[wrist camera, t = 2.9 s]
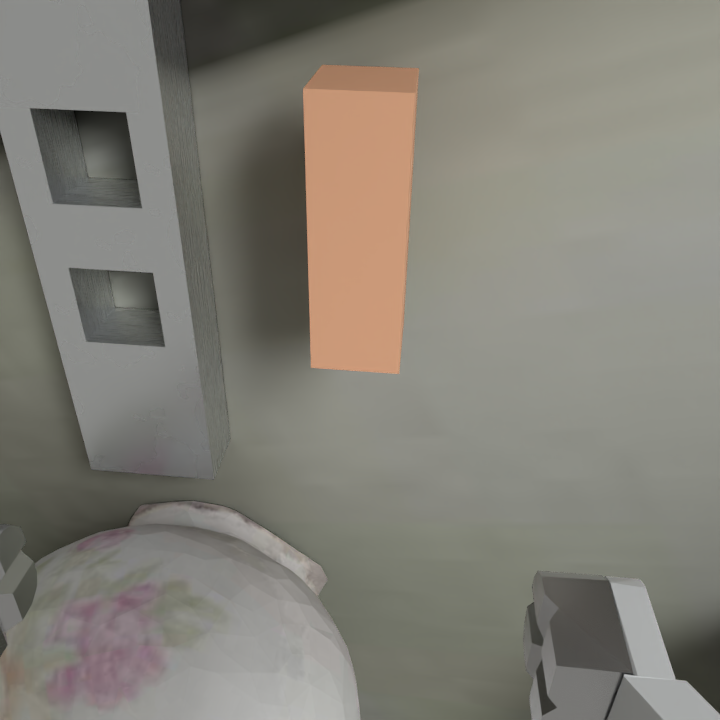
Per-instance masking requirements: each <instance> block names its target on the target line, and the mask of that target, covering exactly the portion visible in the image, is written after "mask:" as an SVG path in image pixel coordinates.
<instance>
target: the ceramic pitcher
mask: <svg viewBox="0 0 720 720" xmlns="http://www.w3.org/2000/svg"><path fill="white" fill-rule="evenodd" d="M35 567H36V571H37V588H36V592H35V595H34V599H33V603H32V605H31V607H30V609H29V610H28V612H27V614H26V615H25V617H24V619H23V620H22V621H21V622H19V623H18V624H16V625H15V626H13V627H12V628H10V629H9V630H7V631H6V637H7V644H8V645H7V647H6V649H5V650H4V652H3V654H2V655H1V657H0V720H360V711H359V700H358V691H357V684H356V678H355V673H354V669H353V665H352V662H351V659H350V655H349V652H348V648H347V646H346V644H345V642H344V640H343V638H342V636H341V634H340V632H339V631H338V629H337V627H336V625H335V623H334V621H333V619H332V618H331V616H330V614H329V613H328V611H327V610H326V608H325V607H324V605H323V604H322V603H321V601H320V600H319V598H318V595H319V593H320V591H321V589H322V588H323V586H324V585H325V583H326V582H327V580H328V579H327V577H326V575H325V573H324V571H323V569H322V567H321V566H320V565H319V564H317V563H316V562H314V561H313V560H311V559H310V558H308V557H307V556H305V555H304V554H302V553H300V552H299V551H297V550H296V549H294V548H293V547H292V546H290V545H289V544H287V543H286V542H284V541H283V540H281V539H280V538H278V537H277V536H275V535H274V534H272V533H271V532H269V531H268V530H266V529H265V528H263V527H261V526H260V525H258V524H257V523H255V522H253V521H252V520H250V519H249V518H247V517H245V516H244V515H242V514H240V513H239V512H237V511H235V510H233V509H230V508H228V507H225V506H220V505H214V504H209V503H203V502H198V501H181V502H167V503H156V504H146V505H140V506H139V508H138V509H137V511H136V512H135V513H134V515H133V516H132V518H131V520H130V522H129V524H128V526H127V527H122V528H117V529H112V530H107V531H102V532H98V533H95V534H93V535H90V536H87V537H85V538H83V539H80V540H78V541H76V542H74V543H71V544H69V545H67V546H64V547H62V548H60V549H58V550H56V551H54V552H52V553H50V554H48V555H47V556H45V557H43V558H41V559H40V560H39V561H37V562H36V563H35Z"/></svg>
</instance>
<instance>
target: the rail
mask: <svg viewBox="0 0 720 720" xmlns="http://www.w3.org/2000/svg"><path fill="white" fill-rule="evenodd" d="M74 110H85V111H109V112H126V115H127V121H128V127H129V133H130V139H131V145H132V151H133V157H134V163H135V169H136V175H137V180H123V179H103V178H88V175H87V170H86V165H85V160H84V156H83V151H82V146H81V141H80V136H79V132H78V127H77V122H76V117H75V112H74ZM0 132H1V136H2V140H3V143H4V147H5V151H6V155H7V158H8V162H9V166H10V169H11V173H12V177H13V181H14V184H15V188H16V192H17V195H18V199H19V203H20V207H21V210H22V214H23V218H24V221H25V225H26V229H27V232H28V236H29V240H30V244H31V247H32V251H33V255H34V258H35V262H36V266H37V270H38V273H39V277H40V281H41V284H42V288H43V292H44V296H45V299H46V303H47V307H48V310H49V314H50V318H51V322H52V325H53V329H54V333H55V336H56V340H57V344H58V347H59V351H60V355H61V359H62V362H63V366H64V370H65V373H66V377H67V381H68V385H69V388H70V392H71V396H72V399H73V403H74V407H75V411H76V414H77V418H78V422H79V425H80V429H81V433H82V436H83V440H84V444H85V448H86V451H87V455H88V459H89V462H90V466H91V470H103V471H115V472H127V473H139V474H151V475H163V476H175V477H187V478H200V479H212V480H214V478H215V476H216V474H217V471H218V469H219V466H220V464H221V461H222V459H223V456H224V454H225V451H226V449H227V446H228V444H229V441H230V431H229V422H228V414H227V405H226V396H225V387H224V379H223V370H222V361H221V353H220V344H219V335H218V327H217V318H216V309H215V301H214V292H213V283H212V274H211V266H210V257H209V248H208V240H207V231H206V222H205V214H204V205H203V196H202V188H201V179H200V170H199V161H198V153H197V144H196V135H195V127H194V118H193V109H192V101H191V92H190V83H189V75H188V66H187V57H186V49H185V40H184V31H183V22H182V14H181V5H180V0H0ZM107 270H114V271H131V272H147V273H153V276H154V282H155V288H156V294H157V300H158V306H159V310H149V309H133V308H118V307H115V305H114V300H113V295H112V291H111V286H110V281H109V276H108V271H107Z"/></svg>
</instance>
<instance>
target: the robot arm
mask: <svg viewBox="0 0 720 720" xmlns="http://www.w3.org/2000/svg"><path fill="white" fill-rule="evenodd" d="M26 542H27V541H26V539H25V536H24V534H23V531H22V529H21V527H18V526H13V525H6V524H0V657H1V655H2V654H3V652H4V650H5V649H6V647H7V645H8V644H7V637H6V631H7V630H9V629H10V628H12V627H13V626H15V625H16V624H18V623H19V622H21V621H22V620H23V619H24V617H25V615H26V614H27V612H28V610H29V609H30V607H31V605H32V603H33V599H34V595H35V592H36V588H37V571H36V567H35V564H34V561H33V560H32V559H30V558H29V557H28V556H27V555H26V554H25V553H23V552H22V551H21V549H22V548H23V546H24V545H25V543H26ZM532 592H533V599H534V602H533V603H532V604H530V605H529V606H527V611H526V616H525V622H524V637H523V642H524V658H525V667H526V671H527V672H528V673H529V674H530V676H531V677H532V678H533V679H534V680H533V685H532V689H531V693H530V697H529V701H530V708H531V716H532V720H720V714H719V713H718V712H717V711H716V710H715V709H714V708H713V707H712V706H711V705H710V704H709V703H708V702H707V701H706V700H705V699H704V698H703V697H702V696H701V695H700V694H699V693H698V692H697V691H696V690H695V689H694V688H693V687H692V686H691V685H690V684H689V683H688V682H687V681H684V680H677V679H675V676H674V672H673V669H672V666H671V663H670V660H669V657H668V654H667V651H666V648H665V645H664V642H663V639H662V636H661V633H660V630H659V627H658V624H657V621H656V617H655V614H654V611H653V608H652V605H651V602H650V599H649V596H648V593H647V590H646V587H645V585H644V583H643V582H642V581H641V580H640V579H633V578H622V577H610V576H605V577H604V576H602V575H590V574H577V573H564V572H551V571H537V573H536V574H535V576H534V580H533V584H532Z"/></svg>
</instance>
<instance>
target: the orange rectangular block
mask: <svg viewBox="0 0 720 720" xmlns="http://www.w3.org/2000/svg"><path fill="white" fill-rule="evenodd" d="M418 75H419V68H395V67H367V66H339V65H322V66H321V67H320V68H319V69H318V71H317V72H316V73H315V74H314V76H313V77H312V78H311V79H310V81H309V82H308V83H307V84H306V86H305V87H304V88H303V103H304V138H305V173H306V209H307V244H308V279H309V314H310V350H311V368H322V369H336V370H351V371H365V372H380V373H394V374H399V369H400V358H401V347H402V336H403V325H404V310H405V293H406V276H407V259H408V242H409V226H410V209H411V192H412V175H413V158H414V142H415V125H416V108H417V91H418Z"/></svg>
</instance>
